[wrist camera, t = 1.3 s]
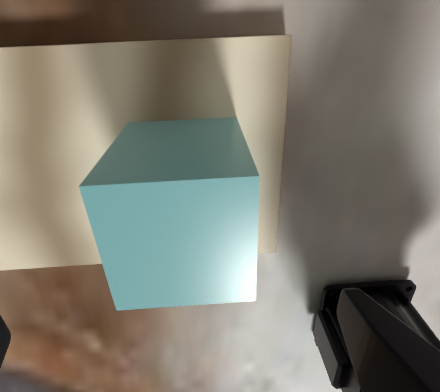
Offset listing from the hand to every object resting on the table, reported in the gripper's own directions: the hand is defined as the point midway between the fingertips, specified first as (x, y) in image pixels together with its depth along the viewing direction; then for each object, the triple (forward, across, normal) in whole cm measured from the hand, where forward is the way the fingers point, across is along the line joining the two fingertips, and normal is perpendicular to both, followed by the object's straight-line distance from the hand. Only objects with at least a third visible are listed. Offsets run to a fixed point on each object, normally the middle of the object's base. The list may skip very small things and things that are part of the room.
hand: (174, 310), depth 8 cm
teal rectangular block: (+9, 0, 0) cm, 9 cm away
